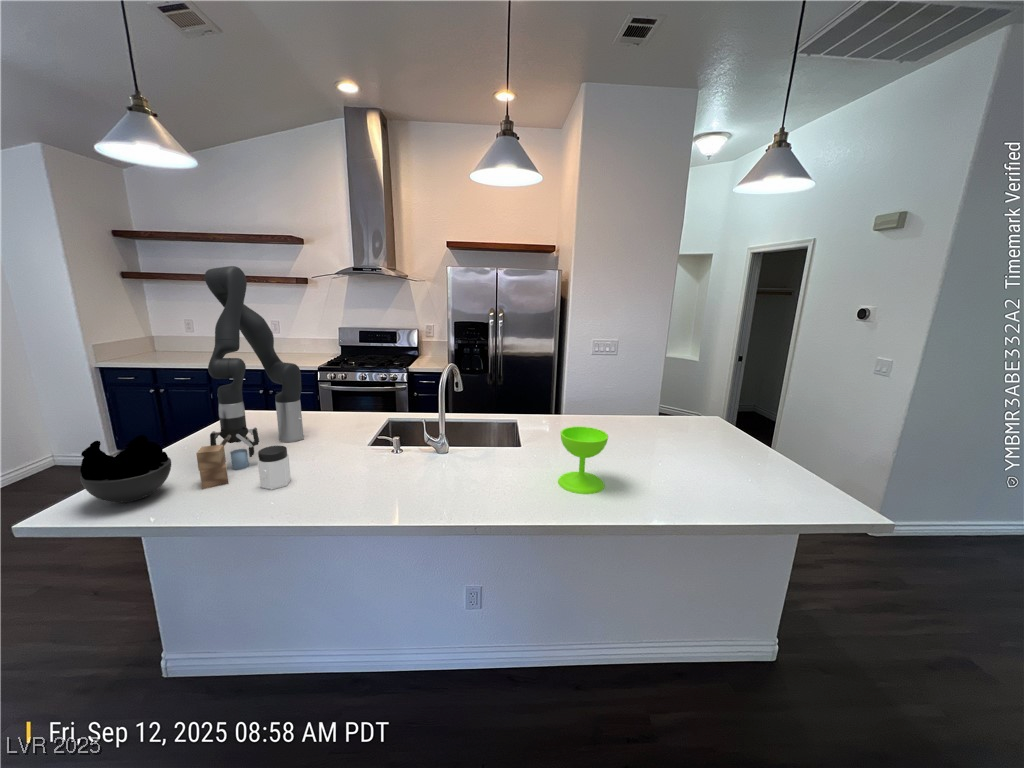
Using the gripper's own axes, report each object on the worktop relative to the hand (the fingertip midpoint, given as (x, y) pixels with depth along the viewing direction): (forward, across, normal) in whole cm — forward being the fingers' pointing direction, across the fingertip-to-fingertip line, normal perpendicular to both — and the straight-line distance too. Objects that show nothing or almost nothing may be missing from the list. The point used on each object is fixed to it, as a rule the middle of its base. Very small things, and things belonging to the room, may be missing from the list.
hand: (237, 458), depth 148 cm
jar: (+4, -13, +20) cm, 24 cm away
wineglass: (+3, -108, +59) cm, 123 cm away
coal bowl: (+4, +25, +14) cm, 29 cm away
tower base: (+4, +5, +11) cm, 13 cm away
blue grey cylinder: (+4, -1, 0) cm, 4 cm away
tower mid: (-2, +5, +11) cm, 13 cm away
